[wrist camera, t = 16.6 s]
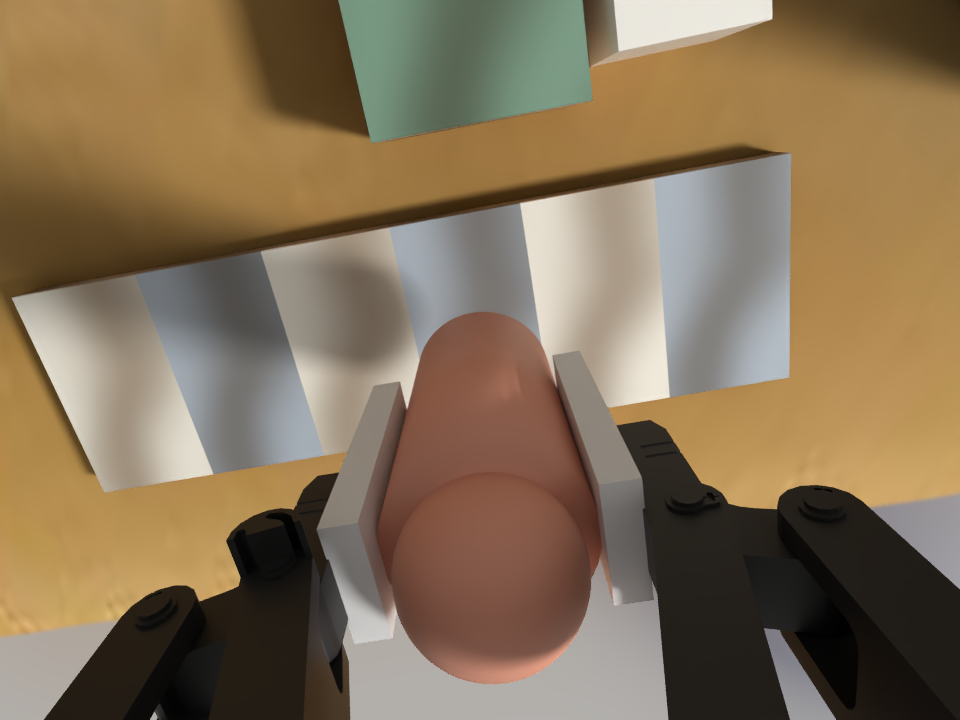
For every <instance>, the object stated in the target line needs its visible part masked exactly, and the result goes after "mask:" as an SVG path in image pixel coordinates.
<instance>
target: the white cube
mask: <svg viewBox="0 0 960 720" xmlns="http://www.w3.org/2000/svg"><path fill="white" fill-rule="evenodd" d="M582 1H583V10H584V19H585V28H586V37H587V45H588V54H589V63H590V67H592V66H596V65H601V64H606V63H611V62H615V61H620V60H625V59H630V58H634V57H639V56H644V55H649V54H653V53H658V52H663V51H668V50H673V49H677V48H682V47H687V46H692V45H696V44H701V43H706V42H711V41H715V40H717V39H720V38H723V37H725V36H728V35H731V34H733V33H736V32H739V31H741V30H744V29H747V28H750V27H752V26H755V25H758V24H760V23H763V22H766V21H768V20H771V19H772V0H582Z"/></svg>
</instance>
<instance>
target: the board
mask: <svg viewBox="0 0 960 720" xmlns="http://www.w3.org/2000/svg"><path fill="white" fill-rule="evenodd" d="M790 222H791V153H782V152H773V153H768V154H762V155H757V156H751V157H746V158H741V159H735V160H730V161H725V162H719V163H714V164H709V165H703V166H698V167H692V168H687V169H682V170H676V171H671V172H666V173H660V174H655V175H649V176H644V177H639V178H633V179H628V180H623V181H617V182H612V183H606V184H601V185H596V186H590V187H585V188H580V189H574V190H569V191H564V192H558V193H553V194H547V195H542V196H537V197H531V198H526V199H521V200H515V201H510V202H504V203H499V204H494V205H488V206H483V207H478V208H472V209H467V210H461V211H456V212H451V213H445V214H440V215H435V216H429V217H424V218H419V219H413V220H408V221H402V222H397V223H392V224H386V225H381V226H376V227H370V228H365V229H359V230H354V231H349V232H343V233H338V234H333V235H327V236H322V237H316V238H311V239H306V240H300V241H295V242H290V243H284V244H279V245H274V246H268V247H263V248H257V249H252V250H247V251H241V252H236V253H231V254H225V255H220V256H214V257H209V258H204V259H198V260H193V261H188V262H182V263H177V264H171V265H166V266H161V267H155V268H150V269H145V270H139V271H134V272H129V273H123V274H118V275H112V276H107V277H102V278H96V279H91V280H86V281H80V282H75V283H69V284H64V285H59V286H53V287H48V288H43V289H37V290H32V291H30V292H27V293H24V294H21V295H18V296H16V297H13V298H12V300H13V302H14V304H15V306H16V308H17V310H18V312H19V314H20V317H21V319H22V321H23V323H24V325H25V327H26V329H27V331H28V333H29V335H30V338H31V340H32V342H33V344H34V346H35V348H36V350H37V352H38V354H39V356H40V358H41V361H42V363H43V365H44V367H45V369H46V371H47V373H48V375H49V377H50V379H51V382H52V384H53V386H54V388H55V390H56V392H57V394H58V396H59V398H60V400H61V402H62V405H63V407H64V409H65V411H66V413H67V415H68V417H69V419H70V421H71V423H72V426H73V428H74V430H75V432H76V434H77V436H78V438H79V440H80V442H81V444H82V446H83V449H84V451H85V453H86V455H87V457H88V459H89V461H90V463H91V465H92V467H93V470H94V472H95V474H96V476H97V478H98V480H99V482H100V484H101V486H102V488H103V490H104V493H105V492H110V491H116V490H122V489H128V488H134V487H140V486H146V485H152V484H158V483H164V482H170V481H176V480H182V479H188V478H194V477H200V476H206V475H212V474H217V473H223V472H229V471H235V470H241V469H247V468H253V467H259V466H265V465H271V464H277V463H283V462H289V461H295V460H301V459H307V458H313V457H318V456H324V455H330V454H336V453H342V452H348V449H349V447H350V444H351V442H352V439H353V437H354V434H355V432H356V429H357V427H358V424H359V422H360V419H361V417H362V414H363V412H364V409H365V407H366V404H367V402H368V399H369V397H370V394H371V392H372V389H373V387H374V386H375V385H381V384H387V383H393V382H399V381H400V383H401V387H402V391H403V396H404V400H405V404H406V408H408V404H409V400H410V396H411V392H412V388H413V384H414V380H415V376H416V372H417V368H418V364H419V361H420V357H421V353H422V351H423V349H424V346H425V345H426V343H427V341H428V340H429V338H430V337H431V336H432V335H433V334H434V332H435V331H437V330H438V329H439V328H440V327H441V326H442V325H444V324H445V323H446V322H448V321H450V320H452V319H454V318H456V317H458V316H461V315H464V314H468V313H473V312H494V313H499V314H503V315H507V316H509V317H511V318H514V319H516V320H517V321H519V322H521V323H522V324H524V325H525V326H526V327H527V328H529V329H530V330H531V331H532V332H533V333H534V334H535V336H536V337H537V338H538V340H539V341H540V343H541V345H542V347H543V349H544V351H545V354H546V357H547V360H548V363H549V366H550V369H551V372H552V375H553V378H554V381H555V384H556V377H555V370H554V363H553V356H552V355H556V354H562V353H568V352H574V351H580V353H581V355H582V357H583V359H584V361H585V363H586V365H587V367H588V369H589V371H590V373H591V375H592V377H593V379H594V381H595V383H596V385H597V387H598V389H599V391H600V394H601V396H602V398H603V400H604V402H605V404H606V406H607V408H610V407H616V406H622V405H628V404H634V403H639V402H645V401H651V400H657V399H663V398H669V397H675V396H681V395H687V394H693V393H699V392H705V391H711V390H717V389H723V388H729V387H735V386H741V385H746V384H752V383H758V382H764V381H770V380H776V379H782V378H788V377H789V339H790ZM556 387H557V384H556Z"/></svg>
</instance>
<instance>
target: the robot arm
mask: <svg viewBox="0 0 960 720" xmlns="http://www.w3.org/2000/svg"><path fill="white" fill-rule="evenodd" d="M552 356H553V363H554V370H555V377H556V384H557V390H558V393H559V396H560V399H561V402H562V405H563V408H564V411H565V414H566V417H567V420H568V423H569V426H570V429H571V432H572V435H573V438H574V441H575V444H576V447H577V450H578V453H579V456H580V459H581V462H582V465H583V468H584V471H585V474H586V477H587V480H588V483H589V486H590V489H591V492H592V495H593V498H594V501H595V504H596V507H597V513H598V521H599V529H600V536H601V544H602V550H601V555H600V560H601V564H602V567H603V570H604V573H605V577H606V580H607V583H608V587H609V590H610V594H611V597H612V600H613V604H614V606H615V605H621V604H628V603H635V602H642V601H649V600H653V599H654V598H653V587H652V581H653V584H654V586H655V588H656V591H657V594H658V606H659V616H660V628H661V639H662V651H663V662H664V674H665V685H666V696H667V706H668V707H667V708H668V719H669V720H790V718H789V715H788V711H787V708H786V704H785V701H784V697H783V694H782V690H781V687H780V683H779V680H778V677H777V673H776V670H775V666H774V662H773V659H772V655H771V652H770V648H769V645H768V642H767V638H766V635H765V631H764V628H768V629H777V630H780V632H781V634H782V636H783V638H784V639H785V641H786V642H787V644H788V645H789V647H790V649H791V650H792V652H793V653H794V655H795V656H796V658H797V659H798V661H799V663H800V664H801V666H802V667H803V669H804V670H805V672H806V673H807V675H808V676H809V678H810V679H811V681H812V683H813V684H814V686H815V687H816V689H817V690H818V692H819V693H820V695H821V697H822V698H823V700H824V701H825V703H826V704H827V706H828V707H829V709H830V710H831V712H832V714H833V715H834V716H835V718H836V720H960V589H959V588H958V587H956V586H955V585H954V584H953V583H952V582H951V581H950V580H949V579H948V578H947V577H945V576H944V575H943V574H942V573H941V572H940V571H939V570H938V569H937V568H935V567H934V566H933V565H932V564H931V563H930V562H929V561H928V560H927V559H926V558H924V557H923V556H922V555H921V554H920V553H919V552H918V551H917V550H915V549H914V548H913V547H912V546H911V545H910V544H909V543H908V542H907V541H906V540H905V539H903V538H902V537H901V536H900V535H899V534H898V533H897V532H896V531H894V530H893V529H892V528H891V527H890V526H889V525H888V524H887V523H886V522H885V521H883V520H882V519H881V518H880V517H879V516H878V515H877V514H875V512H874V511H872V510H871V509H870V508H869V507H868V506H867V505H866V504H865V503H864V502H862V501H861V500H860V499H858V498H856V497H855V496H853V495H852V494H850V493H848V492H845V491H842V490H839V489H836V488H833V487H827V486H819V485H810V486H799V487H796V488H793V489H789V490H787V491H786V492H785V493H783V494H782V495H781V496H780V497H779V501H778V505H777V509H759V508H747V507H739V506H735V505H731V504H728V502H727V500H726V499H725V497H724V496H723V494H722V493H721V492H719V491H718V490H716V489H715V488H713V487H712V486H708V485H705V484H702V483H701V482H700V481H699V479H698V478H697V476H696V474H695V473H694V471H693V470H692V468H691V467H690V465H689V464H688V462H687V461H686V459H685V458H684V456H683V455H682V453H680V450H679V449H678V447H677V445H676V444H675V443H674V442H673V439H672V438H671V436H670V435H669V433H668V432H667V430H666V429H665V428H663V427H661V426H660V425H658V424H656V423H654V422H653V421H651V420H647V421H641V422H635V423H629V424H623V425H616V424H615V422H614V420H613V418H612V416H611V414H610V412H609V410H608V408H607V406H606V404H605V402H604V400H603V398H602V396H601V394H600V391H599V389H598V387H597V385H596V383H595V381H594V379H593V377H592V375H591V373H590V371H589V369H588V367H587V365H586V363H585V361H584V359H583V357H582V355H581V353H580V351H574V352H568V353H562V354H556V355H552ZM406 412H407V408H406V404H405V400H404V396H403V391H402V387H401V383H400V381H399V382H393V383H387V384H381V385H375V386H374V387H373V389H372V392H371V394H370V397H369V399H368V402H367V404H366V407H365V409H364V412H363V414H362V417H361V419H360V422H359V424H358V427H357V429H356V432H355V434H354V437H353V439H352V442H351V444H350V447H349V449H348V452H347V454H346V457H345V459H344V462H343V464H342V467H341V469H340V472H339V473H333V474H327V475H321V476H317V477H316V478H315V479H314V480H313V481H312V482H311V483H310V484H309V485H308V486H307V487H306V488H304V489H303V492H302V494H301V496H300V498H299V500H298V502H297V506H295V508H294V510H292V509H283V508H280V509H274V510H268V511H265V512H262V513H260V514H257V515H254V516H252V517H251V518H249V519H247V520H246V521H244V522H242V523H241V524H240V525H239V526H237V527H236V528H235V529H234V530H233V531H232V532H231V533H230V535H229V537H228V539H227V540H226V542H227V544H228V547H229V549H230V552H231V554H232V557H233V559H234V562H235V564H236V567H237V569H238V572H239V574H240V577H241V579H240V583H239V586H238V587H236V588H234V589H232V590H229V591H227V592H224V593H222V594H219V595H216V596H213V597H211V598H208V599H205V600H203V601H200V602H199V600H198V598H197V595H196V593H195V591H194V589H192V588H190V587H188V586H171V587H167V588H164V589H160V590H157V591H155V592H154V593H151V594H149V595H147V596H145V597H144V598H143V599H141V600H140V601H139V602H137V603H136V604H134V605H133V606H132V607H131V608H130V609H129V610H128V611H127V612H126V613H125V614H124V615H123V616H122V617H121V618H120V620H119V621H118V622H117V624H116V625H115V626H114V627H113V629H112V630H111V632H110V633H109V634H108V635H107V637H106V638H105V640H104V641H103V642H102V643H101V645H100V646H99V647H98V649H97V650H96V651H95V653H94V654H93V655H92V657H91V658H90V659H89V661H88V662H87V664H86V665H85V666H84V667H83V669H82V670H81V671H80V673H79V674H78V675H77V677H76V678H75V679H74V680H73V682H72V683H71V684H70V686H69V687H68V688H67V690H66V691H65V692H64V694H63V695H62V696H61V698H60V699H59V700H58V702H57V703H56V705H55V706H54V707H53V708H52V710H51V711H50V712H49V714H48V715H47V716H46V718H45V719H44V720H150V718H151V717H152V715H153V713H154V711H155V713H156V715H157V717H158V718H157V720H350V696H349V661H348V658H347V655H346V651H345V649H344V646H343V643H342V642H343V638H344V634H345V630H346V626H347V623H348V626H349V629H350V632H351V635H352V638H353V641H354V643H355V644H358V643H365V642H371V641H378V640H385V639H391V638H392V637H393V632H394V625H395V618H396V613H397V610H396V607H395V603H394V598H393V592H392V585H391V584H390V582H389V580H388V578H387V574H386V571H385V567H384V564H383V560H382V557H381V553H380V550H379V546H378V543H377V532H378V524H379V520H380V516H381V512H382V508H383V504H384V500H385V496H386V492H387V488H388V484H389V480H390V476H391V472H392V468H393V464H394V460H395V456H396V452H397V448H398V444H399V440H400V436H401V432H402V428H403V424H404V420H405V416H406Z"/></svg>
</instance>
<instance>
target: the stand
mask: <svg viewBox="0 0 960 720" xmlns="http://www.w3.org/2000/svg"><path fill="white" fill-rule="evenodd" d="M338 1H339V5H340V10H341V14H342V18H343V23H344V27H345V31H346V36H347V40H348V44H349V49H350V53H351V57H352V62H353V66H354V70H355V75H356V79H357V83H358V88H359V92H360V96H361V101H362V105H363V109H364V114H365V118H366V122H367V127H368V131H369V135H370V140H371V143H376V142H386V141H392V140H397V139H402V138H407V137H412V136H418V135H423V134H428V133H433V132H438V131H444V130H449V129H454V128H459V127H464V126H469V125H475V124H480V123H485V122H490V121H495V120H501V119H506V118H511V117H516V116H521V115H526V114H532V113H537V112H542V111H547V110H552V109H558V108H563V107H568V106H573V105H576V104H580V103H584V102H588V101H592V100H593V99H592V89H591V79H590V70H589V60H588V50H587V40H586V30H585V21H584V11H583V1H582V0H338Z"/></svg>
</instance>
